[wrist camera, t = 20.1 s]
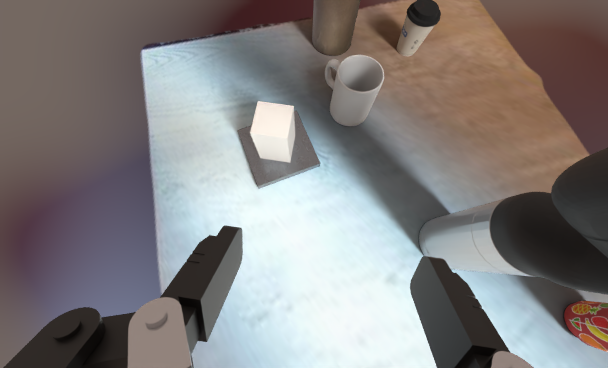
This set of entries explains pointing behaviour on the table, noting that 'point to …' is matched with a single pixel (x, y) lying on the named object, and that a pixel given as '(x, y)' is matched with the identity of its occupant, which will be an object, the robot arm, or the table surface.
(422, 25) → the coffee cup
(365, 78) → the mug
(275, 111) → the white rectangular block
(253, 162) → the base plate
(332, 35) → the pillar candle
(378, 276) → the table surface
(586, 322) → the smoothie
